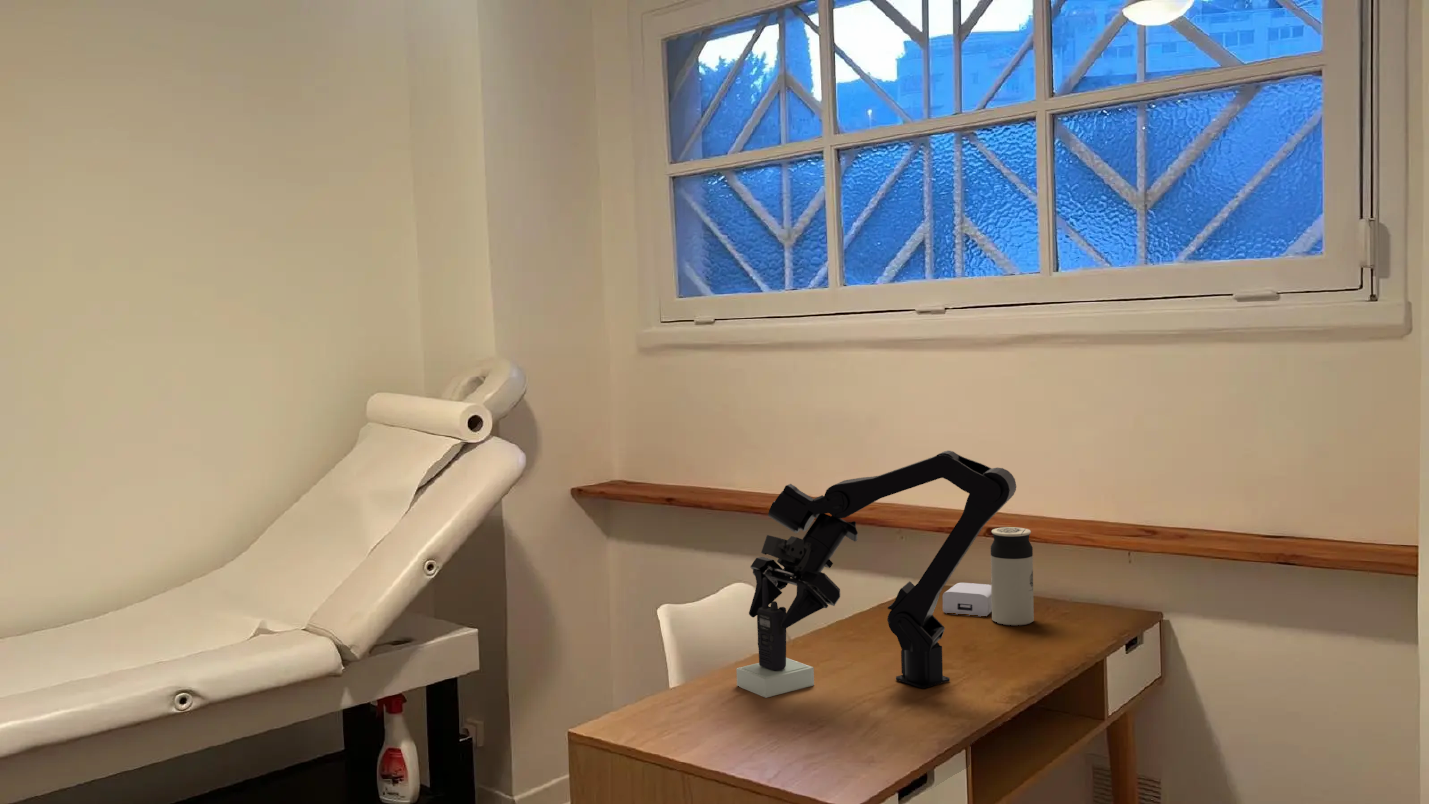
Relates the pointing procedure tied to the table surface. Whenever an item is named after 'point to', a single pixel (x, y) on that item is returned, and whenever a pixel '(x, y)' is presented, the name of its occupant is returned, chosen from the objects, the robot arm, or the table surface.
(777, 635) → the two-way radio
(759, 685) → the sage tile
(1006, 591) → the travel mug
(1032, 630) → the table surface
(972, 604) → the charger
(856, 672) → the table surface
